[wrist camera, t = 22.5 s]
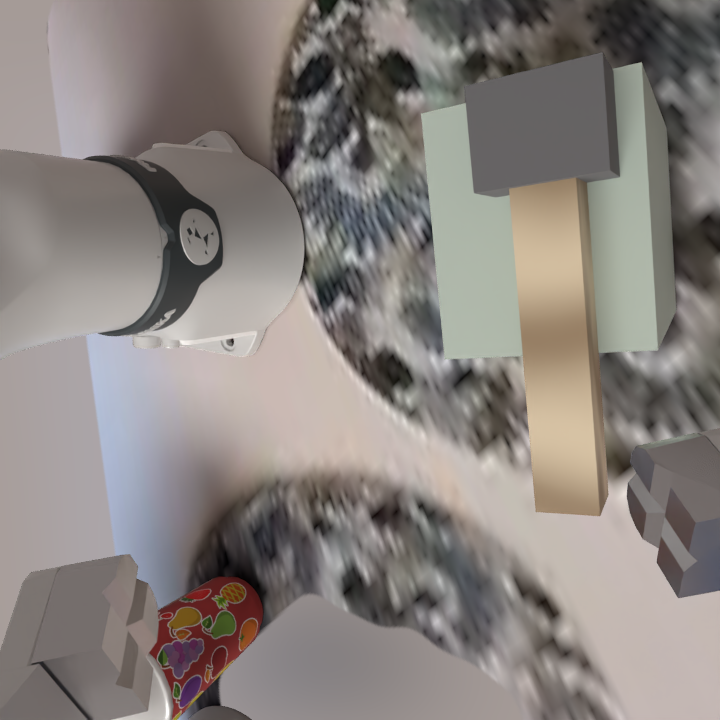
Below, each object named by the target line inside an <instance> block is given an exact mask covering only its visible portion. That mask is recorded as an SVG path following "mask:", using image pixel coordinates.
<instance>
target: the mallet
mask: <svg viewBox="0 0 720 720" xmlns="http://www.w3.org/2000/svg"><path fill="white" fill-rule="evenodd" d="M464 90H465V101H466V112H467V123H468V135H469V146H470V157H471V168H472V179H473V190H474V193H475V194H480V195H485V196H491V197H502V196H508V195H510V207H511V219H512V232H513V244H514V256H515V268H516V280H517V292H518V304H519V316H520V328H521V340H522V352H523V364H524V376H525V388H526V400H527V412H528V424H529V436H530V448H531V460H532V472H533V484H534V496H535V508H536V512H545V513H561V514H576V515H591V516H600V515H601V512H602V510H603V507H604V505H605V502H606V500H607V497H608V480H607V466H606V451H605V437H604V423H603V408H602V394H601V379H600V365H599V350H598V336H597V321H596V307H595V292H594V278H593V263H592V249H591V234H590V220H589V205H588V191H587V183H588V182H594V181H601V180H607V179H613V178H619V177H620V167H619V151H618V135H617V119H616V103H615V87H614V71H613V70H612V68H611V66H610V64H609V62H608V61H607V59H606V57H605V55H604V54H603V52H601V53H597V54H592V55H588V56H584V57H580V58H576V59H572V60H568V61H564V62H560V63H556V64H552V65H548V66H544V67H540V68H536V69H532V70H528V71H524V72H520V73H516V74H512V75H508V76H504V77H500V78H496V79H492V80H488V81H484V82H480V83H476V84H472V85H468V86H464Z"/></svg>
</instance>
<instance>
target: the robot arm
mask: <svg viewBox="0 0 720 720" xmlns="http://www.w3.org/2000/svg"><path fill="white" fill-rule="evenodd" d="M303 262H304V235H303V228H302V224H301V220H300V216H299V213H298V210H297V208H296V205H295V203H294V201H293V199H292V197H291V195H290V194H289V192H288V190H287V189H286V188H285V186H284V185H283V184H282V182H281V181H280V180H279V179H278V178H277V177H276V176H275V175H274V174H273V173H272V172H270V171H269V170H268V169H267V168H265V167H264V166H262V165H260V164H258V163H256V162H255V161H253V160H251V159H249V158H248V157H247V156H245V155H244V154H243V152H242V151H241V150H240V148H239V147H238V145H237V144H236V143H235V141H234V140H233V139H232V138H231V137H230V136H229V135H228V134H227V133H226V132H224V131H210V132H208V133H206V134H204V135H202V136H200V137H198V138H197V139H195V140H193V141H191V142H189V143H187V144H186V145H180V144H170V143H156V144H153V146H152V149H150V150H147V151H145V152H143V153H142V154H140V155H139V156H137V157H136V158H133V157H127V156H120V155H110V156H91V157H87V158H85V159H83V160H82V159H74V158H67V157H59V156H52V155H44V154H35V153H28V152H20V151H13V150H0V360H2V359H4V358H6V357H8V356H10V355H12V354H14V353H17V352H19V351H22V350H26V349H29V348H32V347H36V346H40V345H44V344H47V343H51V342H56V341H60V340H65V339H69V338H74V337H79V336H84V335H89V334H95V333H98V334H102V335H107V336H130V337H133V345H134V347H135V348H141V349H151V348H158V347H160V346H161V343H162V347H164V348H177V347H179V346H183V347H188V348H194V349H199V350H204V351H210V352H215V353H221V354H226V355H231V356H237V357H248V356H252V355H253V354H254V353H255V352H256V351H257V349H258V348H259V345H260V343H261V341H262V338H263V336H264V333H265V330H266V328H267V327H268V325H269V324H270V323H271V322H272V321H273V320H274V319H275V318H276V317H277V316H278V315H279V314H280V313H281V312H282V311H283V310H284V308H285V307H286V306H287V304H288V303H289V301H290V300H291V298H292V296H293V295H294V293H295V291H296V288H297V286H298V283H299V280H300V277H301V273H302V268H303ZM232 338H233V340H234V345H233V344H232V341H231V339H232ZM631 465H632V467H633V468H634V470H635V471H636V474H635V475H634V476H633V478H632V479H631V480H630V481H629V482H628V489H627V500H628V505H629V510H630V514H631V517H632V519H633V521H634V524H635V526H636V528H637V530H638V531H639V533H640V535H641V537H642V538H643V539H644V540H646V541H647V542H649V543H651V544H652V545H654V546H656V547H658V548H659V551H658V557H657V564H658V565H659V567H660V569H661V570H662V572H663V574H664V575H665V577H666V579H667V580H668V582H669V584H670V585H671V587H672V589H673V590H674V592H675V594H676V595H677V597H678V598H682V597H688V596H693V595H698V594H704V593H709V592H715V591H720V428H719V429H714V430H709V431H704V432H700V433H697V434H695V433H693V434H688V435H684V436H679V437H675V438H670V439H666V440H661V441H657V442H652V443H648V444H643V445H639V446H636V447H635V449H634V450H633V451H632V456H631ZM137 570H138V566H137V564H136V563H135V561H134V560H133V558H132V557H131V555H130V554H128V555H120V556H114V557H109V558H103V559H98V560H92V561H87V562H81V563H76V564H71V565H65V566H61V567H56V568H51V569H46V570H40V571H35V572H31V573H30V574H29V575H28V576H27V578H26V579H25V580H24V582H23V583H22V586H21V589H20V592H19V596H18V598H17V601H16V605H15V608H14V610H13V614H12V617H11V620H10V623H9V626H8V629H7V632H6V635H5V638H4V641H3V644H2V647H1V650H0V720H113V719H118V718H122V717H126V716H130V715H134V714H138V713H142V712H147V711H148V708H149V700H150V692H151V685H152V677H153V667H152V666H151V664H150V663H149V661H148V660H147V658H146V656H147V655H148V653H149V652H150V651H151V649H152V648H153V646H154V645H155V644H156V642H157V636H158V627H159V621H158V609H157V603H156V600H155V597H154V594H153V591H152V590H151V588H150V586H149V584H148V583H146V582H143V581H141V580H139V579H137V578H136V577H137Z"/></svg>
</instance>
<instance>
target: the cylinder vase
mask: <svg viewBox="0 0 720 720" xmlns="http://www.w3.org/2000/svg"><path fill="white" fill-rule="evenodd" d="M188 720H251V719H250V718H249V717H247V716H246V715H244V714H243V713H241V712H239V711H237V710H235V709H232V708H229V707H225V706H209V707H206V708H203V709H201V710H199V711H197V712H196V713H195V714H194V715H193V716H192V717H190V718H189V719H188Z"/></svg>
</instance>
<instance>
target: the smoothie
mask: <svg viewBox="0 0 720 720" xmlns="http://www.w3.org/2000/svg"><path fill="white" fill-rule="evenodd" d="M262 620H263V608H262V603H261V601H260V598H259V596H258V594H257V593H256V591H255V590H254V589H253V587H252V586H251V585H250V584H248V583H247V582H246V581H245V580H242V579H240V578H238V577H231V576H230V577H217V578H214V579H211V580H210V581H208V582H206V583H204V584H203V585H201V586H199V587H197V588H196V589H194V590H192V591H190V592H189V593H187V594H185V595H183V596H182V597H180V598H178V599H176V600H175V601H173V602H171V603H170V604H168V605H166V606H164V607H163V608H161V609H159V610H158V621H159V627H158V636H157V642H156V644H155V645H154V646H153V648H152V649H151V651H150V652H149V653H148V655H147V656H146V658H147V660H148V661H149V663H150V664H151V666H152V667H153V677H152V685H151V692H150V700H149V708H148V711H147V712H142V713H138V714H134V715H130V716H126V717H122V718H118V719H113V720H177V719H178V718H179V717H180V716H181V715H182V714H183V713H184V712H185V711H186V710H187V709H188V708H189V707H190V706H191V704H192V703H193V702H194V701H195V700H196V699H197V698H198V697H199V696H200V695H201V694H202V693H203V692H204V691H205V690H206V689H207V688H208V687H209V686H210V685H211V684H212V683H213V682H214V681H215V680H216V679H217V678H218V677H219V676H220V675H221V674H222V673H223V672H224V671H225V670H226V669H227V668H228V667H229V665H230V664H231V663H232V662H233V661H234V660H235V659H236V658H237V657H238V656H239V655H240V654H241V653H242V652H243V651H244V650H245V649H246V648H247V647H248V646H249V645H250V644H251V643H252V642H253V641H254V640H255V639H256V637H257V635H258V633H259V628H260V625H261V623H262Z"/></svg>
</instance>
